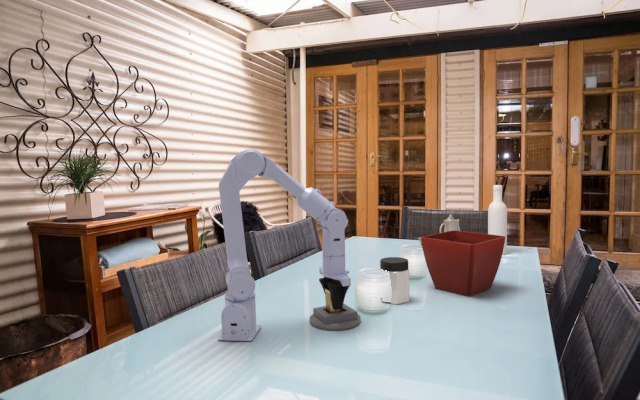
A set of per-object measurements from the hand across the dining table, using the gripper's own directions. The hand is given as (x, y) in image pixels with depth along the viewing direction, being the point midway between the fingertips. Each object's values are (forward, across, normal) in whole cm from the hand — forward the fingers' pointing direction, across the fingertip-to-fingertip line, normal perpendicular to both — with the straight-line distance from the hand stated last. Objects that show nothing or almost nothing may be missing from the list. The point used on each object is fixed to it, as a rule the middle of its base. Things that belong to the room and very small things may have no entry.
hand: (334, 307), depth 113 cm
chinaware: (+4, +68, -90) cm, 113 cm away
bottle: (+4, +45, -100) cm, 110 cm away
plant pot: (+4, +9, -49) cm, 50 cm away
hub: (+4, 0, 0) cm, 4 cm away
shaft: (+2, 0, 0) cm, 2 cm away
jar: (+4, +8, -23) cm, 25 cm away
